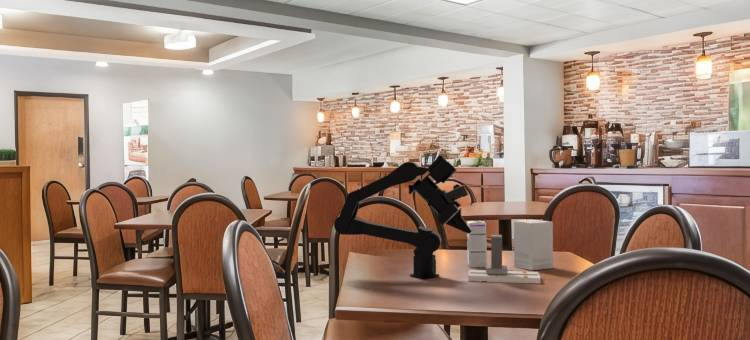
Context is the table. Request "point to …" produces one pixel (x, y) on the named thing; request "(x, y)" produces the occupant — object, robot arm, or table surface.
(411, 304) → the table surface
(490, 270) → the fader
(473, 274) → the fader base
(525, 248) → the supplement box
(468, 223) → the syrup box
